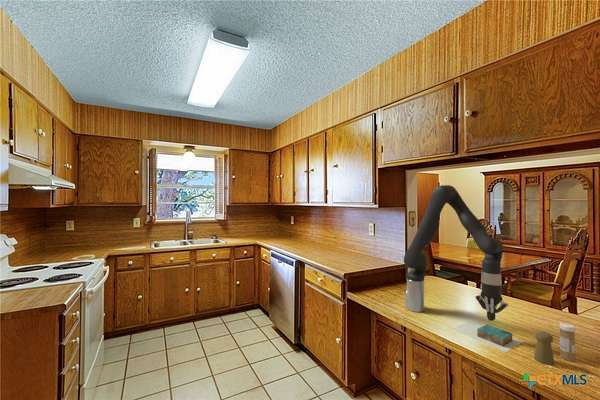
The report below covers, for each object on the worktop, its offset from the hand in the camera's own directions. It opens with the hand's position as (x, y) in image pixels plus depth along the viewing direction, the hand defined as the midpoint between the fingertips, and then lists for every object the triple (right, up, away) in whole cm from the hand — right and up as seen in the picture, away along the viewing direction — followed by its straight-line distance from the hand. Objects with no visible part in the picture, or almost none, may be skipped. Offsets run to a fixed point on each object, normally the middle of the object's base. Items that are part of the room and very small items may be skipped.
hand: (491, 320), depth 123 cm
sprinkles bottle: (+19, -9, -16) cm, 26 cm away
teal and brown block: (-2, -6, +3) cm, 7 cm away
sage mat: (-1, -8, +2) cm, 9 cm away
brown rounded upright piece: (+9, -9, -17) cm, 21 cm away
